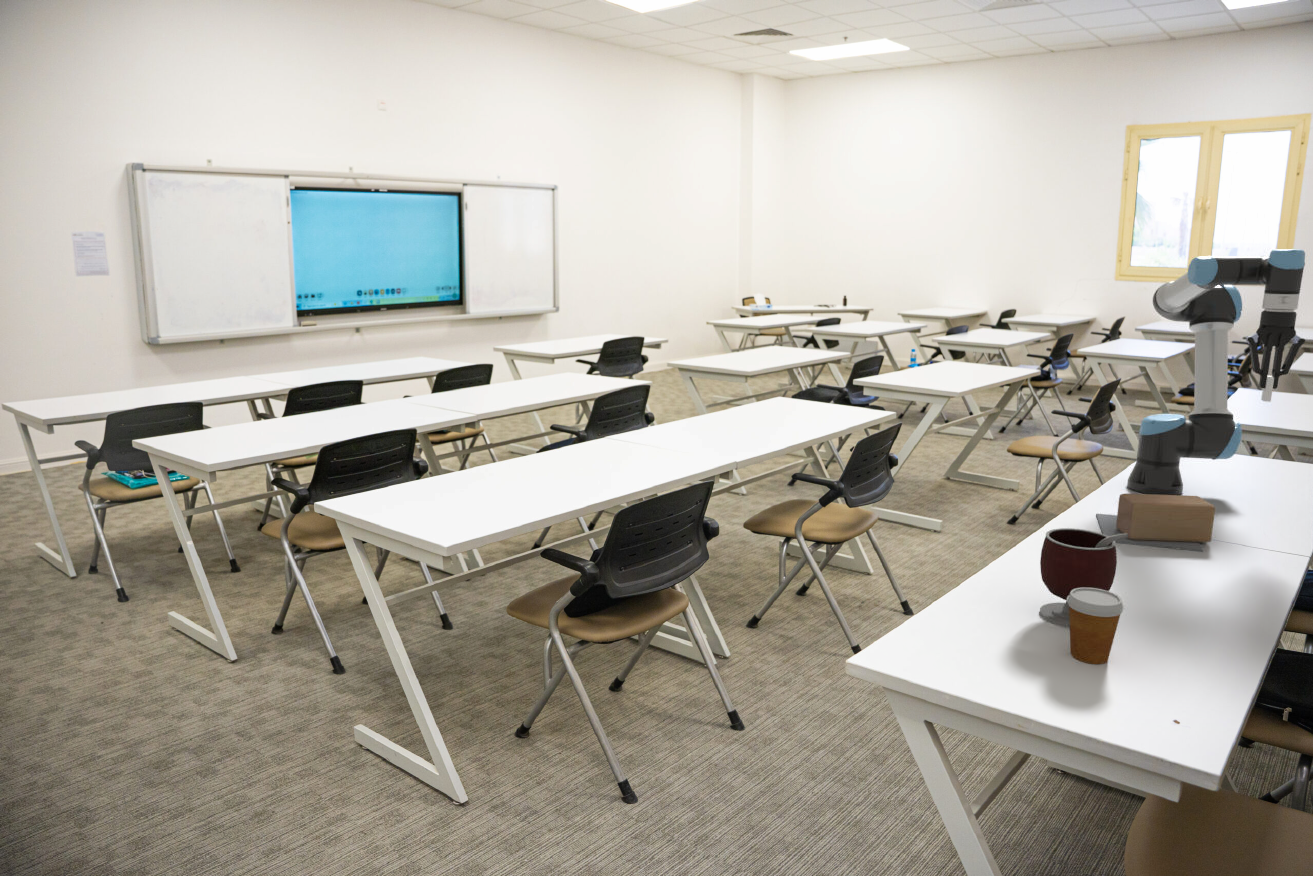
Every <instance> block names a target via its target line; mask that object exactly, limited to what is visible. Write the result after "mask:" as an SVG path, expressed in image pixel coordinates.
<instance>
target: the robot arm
mask: <svg viewBox="0 0 1313 876" xmlns="http://www.w3.org/2000/svg"><path fill="white" fill-rule="evenodd" d="M1305 261H1306V252H1305V250H1303V249H1299V248H1297V249H1295V248H1293V249H1292V248H1291V249H1290V248H1289V249H1288V248H1287V249H1286V248H1285V249H1282V248H1281V249H1280V248H1279V249H1272V250H1271V251H1270V252H1269V255H1266V256H1265V255H1261V256H1216V255H1215V256H1212V255H1206V256H1196V257H1193V258H1192V259H1191V261H1190V263H1189V264H1188V267H1187V272H1186V273H1184V274H1183V275H1181V276H1180V277H1178V278H1177V279H1175V280H1173V281H1171V280H1170V281H1168V282H1164V283H1163V284H1162V285H1160V286H1159V287H1158V288H1157V289H1156V290H1155V292H1153V296H1152V305H1153V309H1154V310H1155V312H1157V314H1158V315H1160V317H1163V318H1165V319H1167V320H1170V321H1174V322H1187V323H1188V324H1189V330H1190V331H1191V332H1193V333H1194V393H1193V394H1194V400H1193V402H1194V405H1193V406H1194V409H1193V410H1192V411H1191V412H1190V413H1188V419H1186V417H1185V415H1183V414H1179V413H1158V414H1150V415H1148V416H1146V417H1144V418H1143V419H1142V420H1141V422H1140V426H1139V427H1140V428H1139V430H1138V431H1139V432H1138V434H1139V435H1138V443H1137V451H1136V460H1135V461H1136V462H1135V464H1134V466H1133V467H1132V470H1131V472H1130V474H1129V476H1128V478H1127V483H1126V486H1127V488H1128V489H1130V490H1133V491H1135V492H1139V493H1143V494H1152V495H1181V494H1183V492H1184V491H1183V489H1184V483H1183V478H1182V473H1181V471H1180V462H1181V459H1182V458H1184V459H1185V458H1187V459H1205V460H1207V459H1209V460H1210V459H1211V460H1228V459H1230V458H1232V457H1234V455H1236V454H1237V452H1238V450H1239V447H1240V444H1241V441H1242V433H1243V431H1242V430H1243V429H1242V427H1241V426H1242V425H1241V423H1240V422H1239V421H1236V420H1234V414H1233V413H1232V412H1231V411H1230V410H1229V409H1228V380H1229V379H1228V363H1229V362H1228V361H1229V360H1228V357H1229V356H1228V353H1229V351H1228V350H1229V349H1228V347H1229V346H1228V345H1229V342H1228V339H1229V335H1228V334H1229V331H1231V330H1232V329H1233V328H1234V326H1235V325H1234V323H1236V322H1238V321H1239V320H1240V318H1241V316H1242V311H1243V299H1242V295H1241V293H1240V291H1239V289H1237V287H1236V286H1264V292H1263V293H1264V294H1263V299H1262V306H1261V308H1262V309H1264V310H1262V311H1261V314H1260V320H1259V327H1258V328H1257V330H1256V332H1255V333H1254V334H1252V335H1250V336H1249V335H1247V336H1246V337H1245V341H1246V342H1247V344H1248V346H1249V353H1250V361H1251V368H1252V372H1253V373H1255V374H1257V375H1258V376H1259V383H1258V387H1259V388H1260V389H1262V393H1261V401H1262V402H1268V403H1269V402H1272V395H1273V389H1274V390H1275V389H1277V388H1278V385H1279V379H1280V377H1281V376H1284V375H1286V376H1287V375H1288V374H1289V372H1290V370H1291V368H1292V365H1293V363H1294V361H1295V359H1296V357H1297V355H1298V352H1299V349H1300V348H1301V347H1302V346H1303V344H1305V343H1306V339H1305V338H1302V337H1301V336H1299V335H1297V331H1296V329H1295V328H1296V321H1297V312H1296V310H1297V309H1298V307H1299V300H1300V299H1299V298H1300V293H1301V286H1302V280H1303V277H1304V276H1303V273H1304V269H1305V265H1306V262H1305ZM1258 339H1259V340H1260V342H1261V343H1262V344H1263V348H1262V349H1263V352H1262V357H1261V358H1262V359H1261V364H1260V359H1259V353H1258V352H1259V350H1258V345H1257V343H1258V341H1259V340H1258ZM1290 341H1291V343H1292V344H1291V345H1290V348H1289V350H1288V353H1287V355H1286V357H1285V359H1284V362H1283V354H1284V351H1285V346H1286V345H1287V344H1288V343H1290ZM1273 347H1274V354H1273V355H1274V356H1273V363H1272V367H1271V368H1272V370H1271V375H1269V370H1270V364H1271V357H1272V351H1273ZM1282 362H1283V363H1282Z"/></svg>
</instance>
